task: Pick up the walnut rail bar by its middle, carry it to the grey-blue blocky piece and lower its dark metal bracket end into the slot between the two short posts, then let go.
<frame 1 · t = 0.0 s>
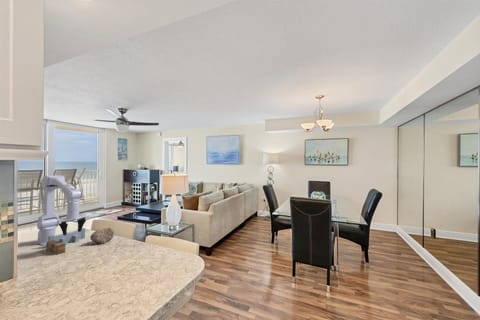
hand: (72, 233, 124), 10 cm above the kitchen counter, fingers open, 7 cm apart
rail: (55, 251, 122), on the kitchen counter
coral: (102, 242, 139), on the kitchen counter
grey-blue blocky piece: (70, 243, 135), on the kitchen counter
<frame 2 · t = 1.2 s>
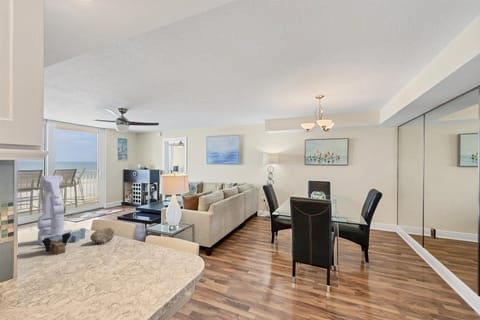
hand: (56, 249, 122), 1 cm above the kitchen counter, fingers open, 7 cm apart
nothing on the kitchen counter moved.
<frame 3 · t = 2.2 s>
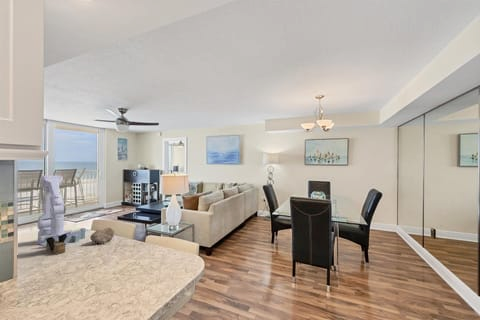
hand: (56, 249, 122), 1 cm above the kitchen counter, fingers closed on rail, 3 cm apart
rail: (55, 251, 122), on the kitchen counter, touching gripper
everything else where it was.
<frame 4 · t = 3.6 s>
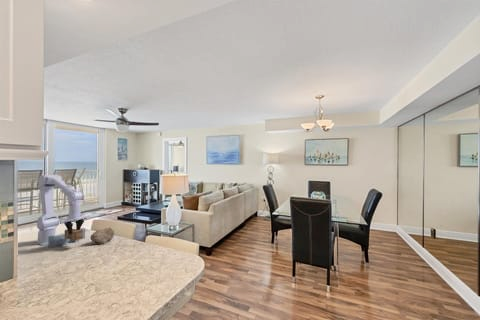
hand: (73, 233, 130), 8 cm above the kitchen counter, fingers closed on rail, 3 cm apart
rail: (73, 238, 130), point 5 cm above the kitchen counter, touching gripper
everything else where it was.
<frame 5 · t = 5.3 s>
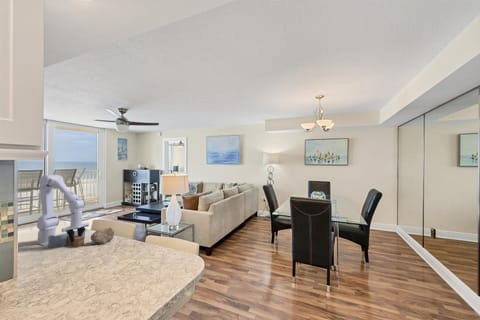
hand: (75, 240, 133), 3 cm above the kitchen counter, fingers closed on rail, 3 cm apart
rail: (75, 244, 133), on the kitchen counter, touching gripper
everything else where it was.
when the fingers open (3 cm above the kitchen counter, at t = 6.1 s): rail stays where it is, on the kitchen counter.
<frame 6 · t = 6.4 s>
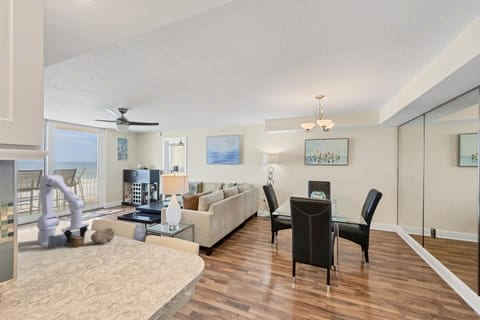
hand: (75, 240, 133), 3 cm above the kitchen counter, fingers open, 6 cm apart
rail: (75, 244, 133), on the kitchen counter
everything else where it was.
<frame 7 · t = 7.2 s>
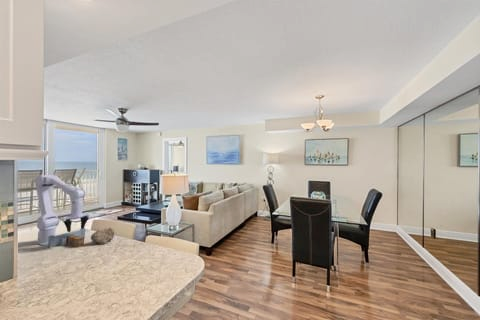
hand: (75, 230, 133), 9 cm above the kitchen counter, fingers open, 7 cm apart
nothing on the kitchen counter moved.
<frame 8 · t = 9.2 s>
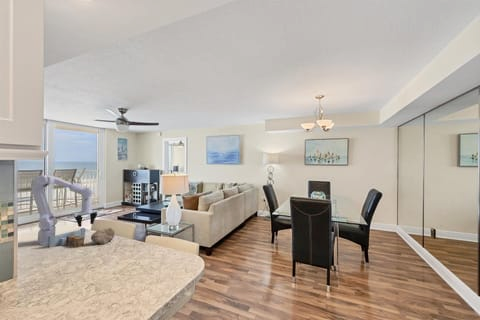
hand: (85, 225, 144), 9 cm above the kitchen counter, fingers open, 7 cm apart
nothing on the kitchen counter moved.
at the end: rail 0.0 cm from the target spot on the kitchen counter beside the grey-blue blocky piece, on the kitchen counter; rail tilted 0°; the gripper is holding nothing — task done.
